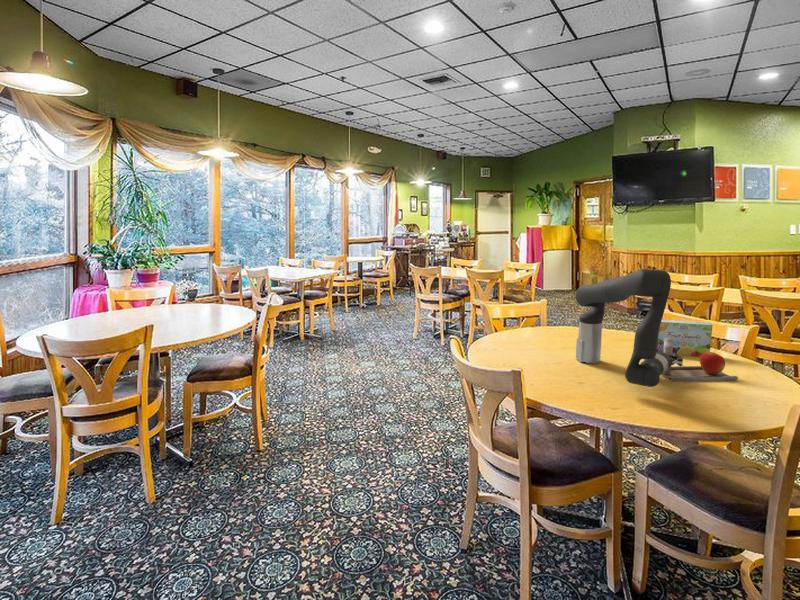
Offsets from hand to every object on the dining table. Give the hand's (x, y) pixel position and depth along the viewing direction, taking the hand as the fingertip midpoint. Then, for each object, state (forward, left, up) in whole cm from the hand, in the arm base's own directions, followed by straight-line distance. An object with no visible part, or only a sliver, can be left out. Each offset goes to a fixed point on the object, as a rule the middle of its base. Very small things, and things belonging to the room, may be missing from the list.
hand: (669, 354), depth 184 cm
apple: (+15, -2, -8) cm, 17 cm away
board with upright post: (+8, -2, -8) cm, 12 cm away
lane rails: (+9, -2, -8) cm, 12 cm away
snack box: (+21, +28, -8) cm, 36 cm away
